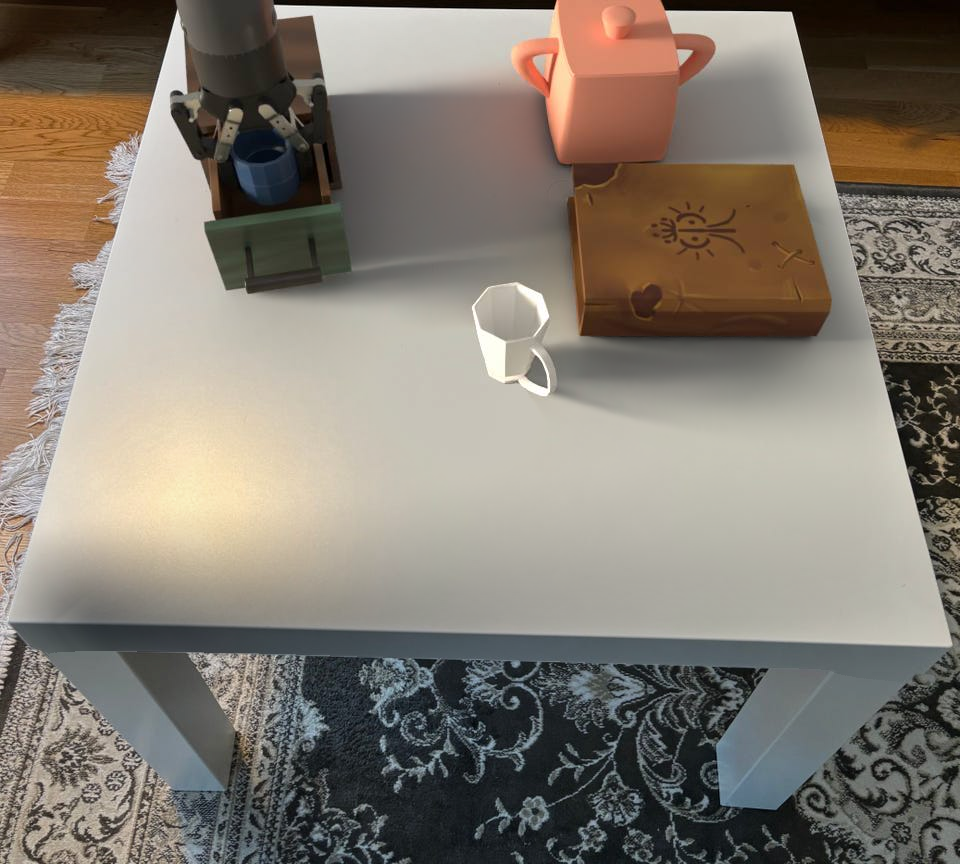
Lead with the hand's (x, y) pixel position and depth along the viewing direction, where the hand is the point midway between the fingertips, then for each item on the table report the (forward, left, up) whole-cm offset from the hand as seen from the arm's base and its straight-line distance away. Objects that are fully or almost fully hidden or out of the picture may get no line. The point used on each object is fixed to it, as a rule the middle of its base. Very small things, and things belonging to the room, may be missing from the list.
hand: (269, 179), depth 87 cm
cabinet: (0, +14, -8) cm, 16 cm away
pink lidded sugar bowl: (+38, +13, -8) cm, 41 cm away
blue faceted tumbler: (0, 0, -1) cm, 1 cm away
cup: (+20, -22, -8) cm, 31 cm away
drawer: (0, -3, -7) cm, 7 cm away
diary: (+40, -13, -8) cm, 43 cm away
